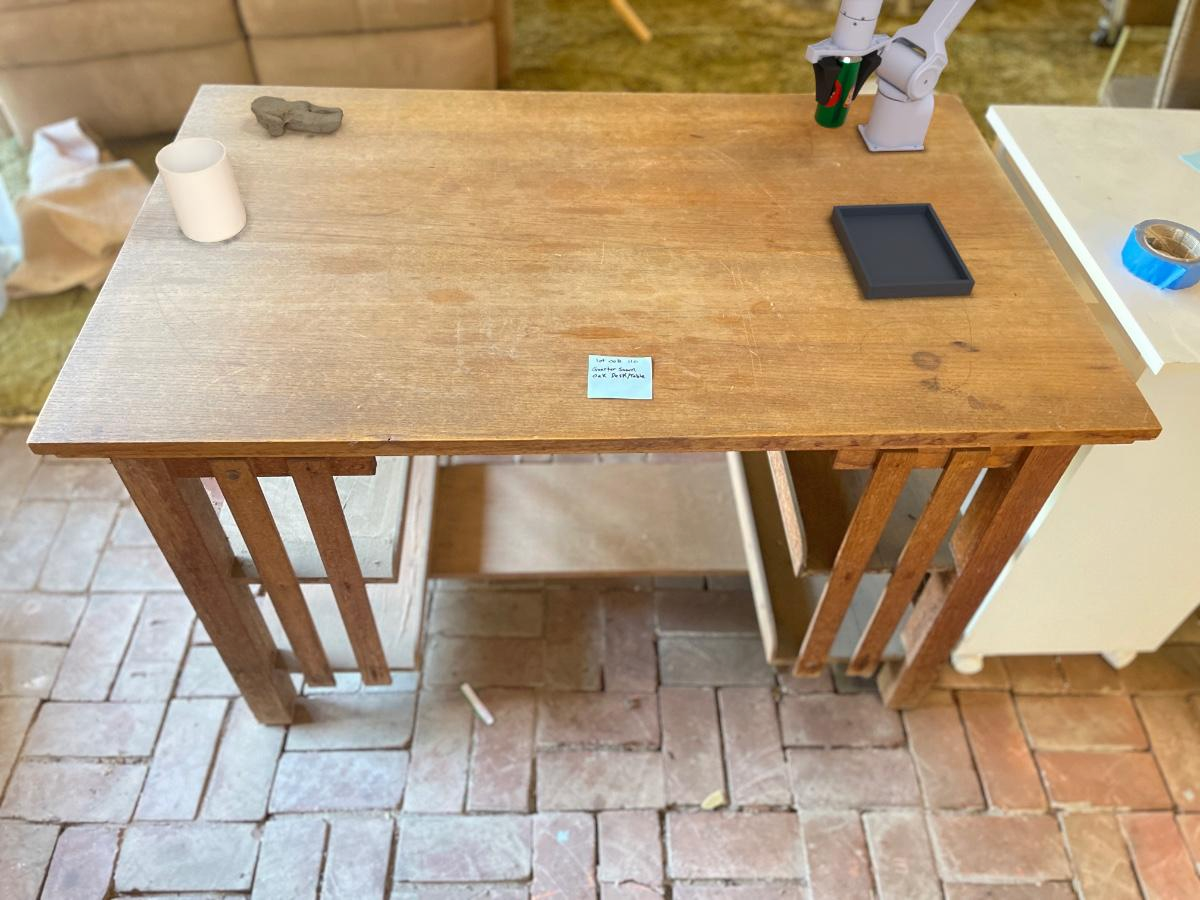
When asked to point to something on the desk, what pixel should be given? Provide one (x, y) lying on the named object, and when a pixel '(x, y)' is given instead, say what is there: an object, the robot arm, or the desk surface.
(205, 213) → the mug
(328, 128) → the sculpture
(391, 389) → the desk surface
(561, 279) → the desk surface
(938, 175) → the desk surface
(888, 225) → the dark grey tray
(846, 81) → the soda can
